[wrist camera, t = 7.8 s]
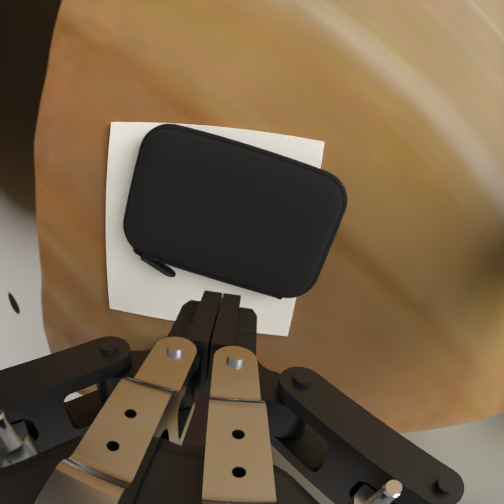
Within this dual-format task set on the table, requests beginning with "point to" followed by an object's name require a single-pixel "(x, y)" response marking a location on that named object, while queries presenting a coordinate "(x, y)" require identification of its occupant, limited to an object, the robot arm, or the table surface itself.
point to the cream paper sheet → (184, 283)
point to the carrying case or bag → (231, 211)
